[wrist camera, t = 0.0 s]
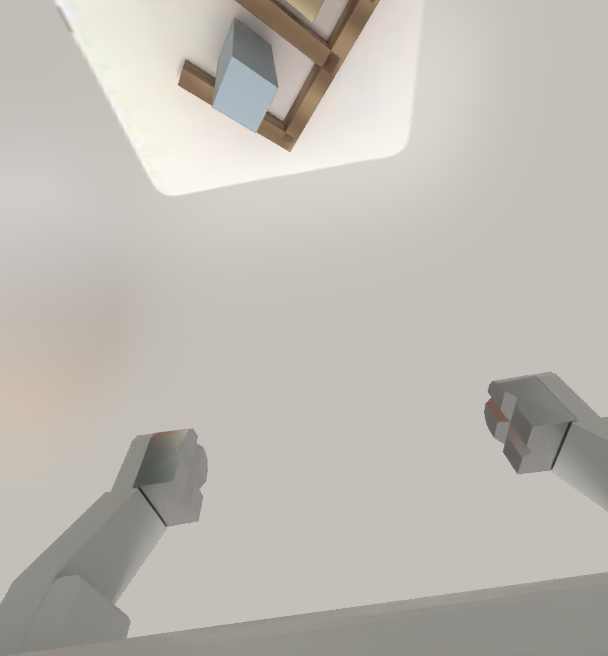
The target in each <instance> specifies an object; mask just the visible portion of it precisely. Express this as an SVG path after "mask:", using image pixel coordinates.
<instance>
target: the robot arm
mask: <svg viewBox="0 0 608 656" xmlns="http://www.w3.org/2000/svg"><path fill="white" fill-rule="evenodd" d="M488 393H489V394H490V396H491V397H492V398H491V399H490V400H489V401H488V402H487V403H486V404H485V411H484V414H485V419H486V423H487V426H488V428H489V430H490V432H491V434H492V435H493V437H494V438H495V439H497V440H499V441H501V442H502V443H504V449H503V453H504V454H505V456H506V457H507V459H508V460H509V462H510V463H511V465H512V467H513V468H514V469H515V471H516V473H517V474H523V473H532V472H541V471H549V470H552V473H554V474H555V475H557V476H558V477H560V478H561V479H563V480H564V481H565V482H567V483H568V484H569V485H571V486H572V487H574V488H575V489H577V490H578V491H579V492H581V493H582V494H584V495H585V496H587V497H588V498H589V499H591V500H592V501H594V502H595V503H596V504H598V505H599V506H601V507H602V508H604V509H605V510H606V511H608V417H604V418H600V417H599V416H598V415H597V414H596V413H595V412H594V411H593V410H592V409H591V408H590V407H589V406H588V405H587V404H586V403H585V402H584V401H583V400H582V399H581V398H580V397H579V396H578V395H577V394H576V393H575V392H574V391H573V390H572V389H571V388H570V387H569V386H568V385H567V384H566V383H565V382H564V381H563V380H562V379H560V377H559V376H557V375H556V374H554V373H552V372H546V373H540V374H534V375H530V376H529V375H527V376H521V377H515V378H509V379H503V380H497V381H492V382H491V384H490V385H489V389H488ZM197 437H198V436H197V434H196V433H195V431H194V429H182V430H175V431H168V432H159V433H154V434H146V435H139V436H137V437H136V438H135V439H134V440H133V441H132V443H131V445H130V448H129V450H128V452H127V455H126V457H125V459H124V462H123V464H122V466H121V469H120V471H119V473H118V476H117V478H116V481H115V483H114V485H113V488H112V490H111V492H106V493H104V494H103V495H102V496H101V497H100V498H99V499H98V500H97V501H96V502H95V503H94V504H93V505H92V506H91V507H90V508H89V509H88V510H87V511H86V512H85V513H84V514H83V515H81V517H79V518H78V519H77V520H76V521H75V522H74V523H73V524H72V525H71V526H70V527H69V528H68V529H67V530H66V531H65V532H64V533H63V534H62V535H61V536H60V537H59V538H58V539H57V540H56V541H55V542H53V543H52V544H51V545H50V546H49V547H48V548H47V549H46V550H45V551H44V552H43V553H42V554H41V555H40V556H39V557H38V558H37V559H36V560H35V561H34V562H33V563H32V564H31V565H30V566H29V567H28V568H27V569H26V570H24V571H23V572H22V573H21V574H20V575H19V576H18V577H17V578H16V579H15V580H14V581H13V582H12V584H11V586H10V588H9V590H8V592H7V593H6V595H5V597H4V599H3V601H2V602H1V604H0V656H608V572H606V573H598V574H591V575H584V576H577V577H569V578H562V579H554V580H548V581H540V582H533V583H526V584H518V585H511V586H504V587H497V588H490V589H482V590H475V591H468V592H460V593H453V594H445V595H438V596H431V597H424V598H417V599H409V600H402V601H395V602H387V603H381V604H373V605H365V606H359V607H351V608H344V609H336V610H329V611H322V612H314V613H308V614H300V615H293V616H285V617H278V618H271V619H264V620H257V621H249V622H242V623H235V624H227V625H220V626H213V627H206V628H198V629H191V630H184V631H177V632H170V633H162V634H155V635H148V636H141V637H133V638H126V637H127V634H128V630H129V626H130V619H129V617H128V616H127V615H126V614H125V613H124V612H122V611H121V610H120V609H119V608H117V607H116V606H115V603H116V602H117V600H118V599H119V597H120V596H121V594H122V593H123V592H124V590H125V589H126V587H127V586H128V584H129V583H130V582H131V580H132V579H133V577H134V576H135V574H136V573H137V571H138V570H139V569H140V567H141V566H142V564H143V563H144V561H145V559H146V558H147V557H148V556H149V554H150V553H151V551H152V550H153V548H154V547H155V545H156V544H157V543H158V541H159V540H160V538H161V537H162V535H163V534H164V532H165V531H166V529H167V527H168V526H174V525H179V524H185V523H191V522H196V521H198V520H199V515H200V509H201V505H202V499H203V496H202V494H201V492H200V490H199V489H200V488H201V486H202V485H203V484H204V483H205V482H206V477H207V471H208V470H207V457H206V453H205V451H204V448H203V447H202V446H200V445H198V444H197V443H196V442H197Z"/></svg>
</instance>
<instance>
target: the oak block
mask: <svg viewBox="0 0 608 656" xmlns="http://www.w3.org/2000/svg"><path fill="white" fill-rule="evenodd" d="M286 1H287V2H289V3H290V4H291V5H292V6H293V7H294V8H296V9H297V10H298V11H299V12H300V13H302V14H303V15H304V16H305V17H306V18H308V19H309V20H310V21H311V22H312V23H313V21H314V19H315V17H316V15H317V13H318V11H319V9H320V7H321V5H322V3H323V1H324V0H286Z"/></svg>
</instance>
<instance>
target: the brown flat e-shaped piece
mask: <svg viewBox="0 0 608 656" xmlns="http://www.w3.org/2000/svg"><path fill="white" fill-rule="evenodd" d="M235 1H237V2H238V3H239V4H241V5H242V6H243V7H244V8H246V9H247V10H248V11H250V12H251V13H252V14H253V15H255V16H256V17H257V18H259V19H260V20H261V21H263V22H264V23H265V24H266V25H268V26H269V27H270V28H272V29H273V30H274V31H275V32H277V33H278V34H279V35H281V36H282V37H283V38H284V39H286V40H287V41H288V42H290V43H291V44H292V45H293V46H295V47H296V48H297V49H299V50H300V51H301V52H302V53H304V54H305V55H306V56H308V57H309V58H310V59H311V60H313V61H314V62H315V65H314V67H313V69H312V71H311V72H310V74H309V76H308V78H307V80H306V82H305V83H304V85H303V87H302V89H301V91H300V93H299V94H298V96H297V98H296V100H295V102H294V104H293V106H292V107H291V109H290V111H289V113H288V115H287V117H286V118H285V120H284V122H283V121H281V120H279V119H278V118H276V117H275V116H273V115H272V114H270V113H269V112H266V114H265V116H264V118H263V120H262V122H261V124H260V126H259V128H258V130H257V133H259V134H261V135H262V136H264V137H266V138H267V139H269V140H271V141H272V142H274V143H276V144H277V145H279V146H281V147H282V148H284V149H286V150H287V151H289V152H290V151H291V150H292V148H293V146H294V144H295V143H296V141H297V139H298V138H299V136H300V134H301V133H302V131H303V129H304V128H305V126H306V124H307V122H308V121H309V119H310V117H311V116H312V114H313V112H314V111H315V109H316V107H317V106H318V104H319V102H320V101H321V99H322V97H323V95H324V94H325V92H326V90H327V89H328V87H329V85H330V84H331V82H332V80H333V79H334V77H335V75H336V73H337V72H338V70H339V68H340V67H341V65H342V63H343V62H344V60H345V58H346V57H347V55H348V53H349V51H350V50H351V48H352V46H353V45H354V43H355V41H356V40H357V38H358V36H359V35H360V33H361V31H362V30H363V28H364V26H365V24H366V23H367V21H368V19H369V18H370V16H371V14H372V13H373V11H374V9H375V8H376V6H377V4H378V2H379V1H380V0H350V1H349V3H348V5H347V6H346V8H345V10H344V12H343V14H342V16H341V17H340V19H339V21H338V23H337V25H336V27H335V28H334V30H333V32H332V34H331V36H330V38H329V39H328V41H327V42H326V41H325V40H323V39H322V38H321V37H320V36H318V35H317V34H316V33H315V32H314V31H312V30H311V29H310V28H309V27H308V26H306V25H305V24H304V23H303V22H302V21H300V20H299V19H298V18H297V17H295V16H294V15H293V14H292V13H291V12H289V11H288V10H287V9H286V8H285V7H283V6H282V5H281V4H280V3H279V2H277V1H276V0H235ZM215 80H216V79H215V78H214V77H212V76H211V75H209V74H207V73H206V72H204V71H203V70H201V69H200V68H198V67H197V66H195V65H193V64H192V63H190V62H189V61H187V60H186V61H185V64H184V67H183V70H182V73H181V76H180V80H179V83H178V86H180V87H182V88H183V89H185V90H187V91H188V92H190V93H192V94H194V95H195V96H197V97H199V98H200V99H202V100H204V101H205V102H207V103H209V104H210V105H212V104H213V96H214V88H215Z"/></svg>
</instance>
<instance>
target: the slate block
mask: <svg viewBox="0 0 608 656" xmlns="http://www.w3.org/2000/svg"><path fill="white" fill-rule="evenodd" d="M277 90H278V83H277V78H276V72H275V66H274V61H273V55H272V49H271V45H270V44H269V43H268V42H266V41H265V40H264V39H262V38H261V37H260V36H258V35H257V34H255V33H254V32H253V31H251V30H250V29H249V28H247V27H246V26H245V25H243V24H242V23H241V22H239V21H238V20H237V19H235V18H234V19H233V22H232V25H231V27H230V30H229V33H228V35H227V38H226V41H225V43H224V46H223V49H222V51H221V54H220V57H219V59H218V65H217V72H216V80H215V88H214V96H213V104H212V107H213V108H214V109H216V110H218V111H219V112H221V113H223V114H224V115H226V116H228V117H229V118H231V119H233V120H235V121H236V122H238V123H240V124H241V125H243V126H245V127H246V128H248V129H250V130H251V131H253V132H255V133H256V132H257V130H258V128H259V126H260V124H261V122H262V120H263V118H264V116H265V114H266V112H267V110H268V108H269V106H270V104H271V102H272V100H273V98H274V96H275V94H276V92H277Z"/></svg>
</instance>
